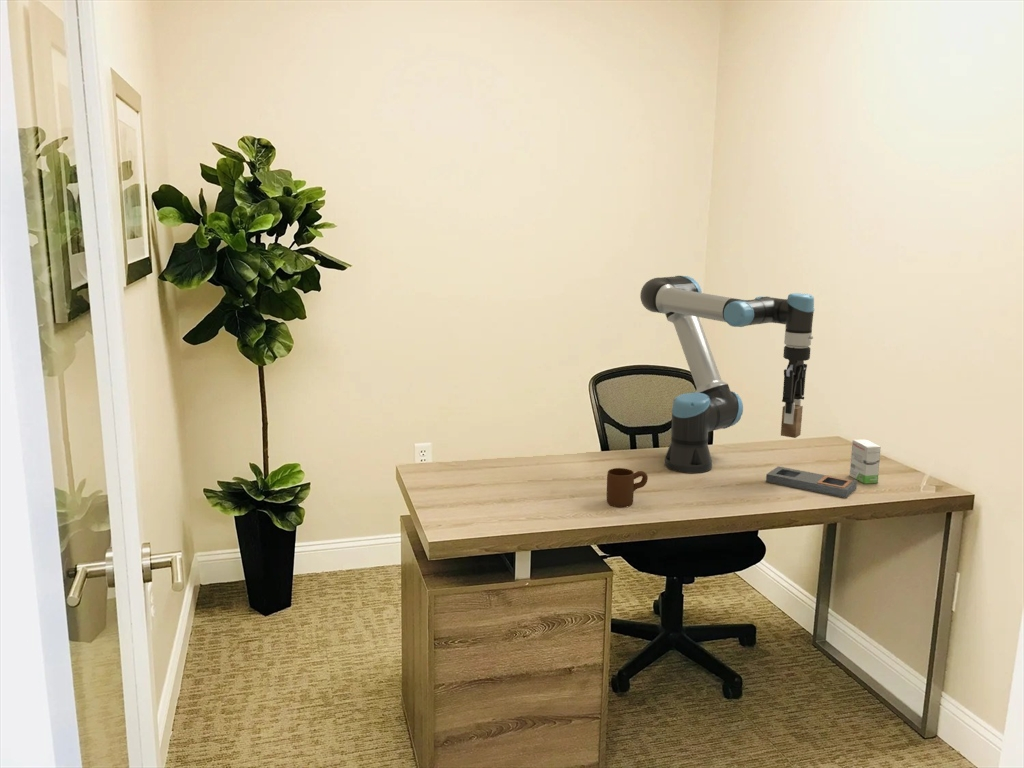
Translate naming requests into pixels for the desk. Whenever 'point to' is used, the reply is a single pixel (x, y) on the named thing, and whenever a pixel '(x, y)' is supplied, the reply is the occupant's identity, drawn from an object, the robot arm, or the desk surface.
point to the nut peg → (794, 428)
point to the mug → (623, 486)
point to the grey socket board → (812, 481)
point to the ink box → (865, 461)
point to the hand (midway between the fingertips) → (791, 421)
